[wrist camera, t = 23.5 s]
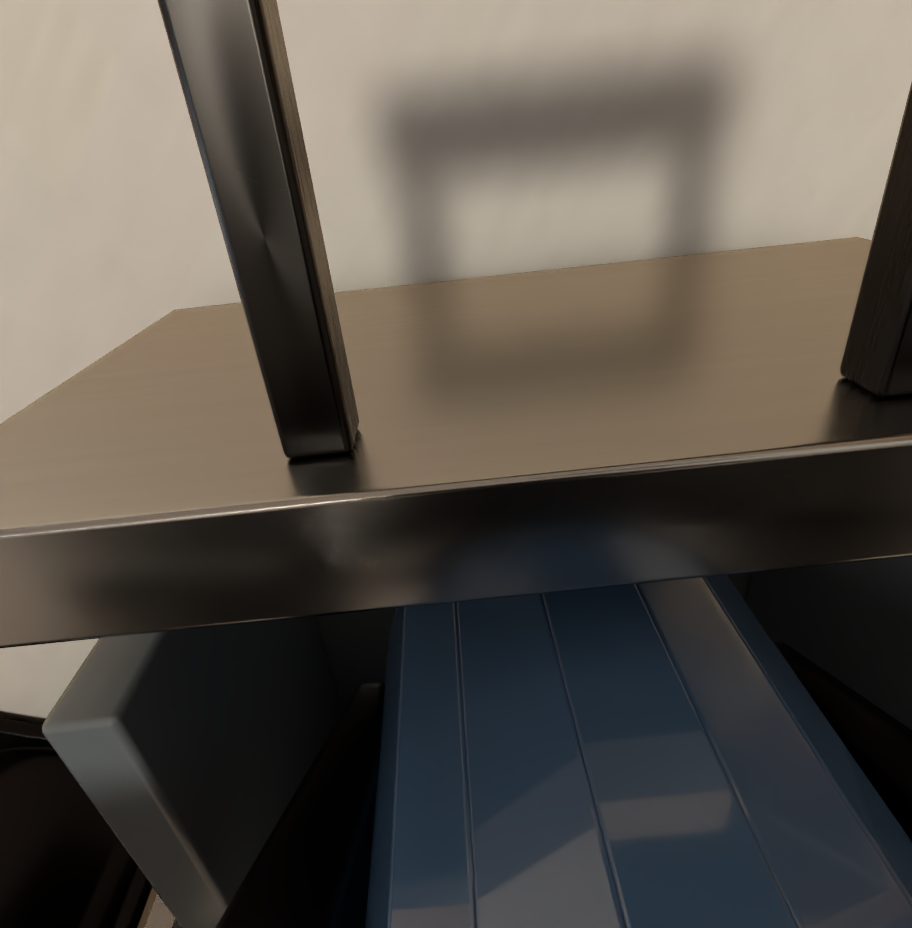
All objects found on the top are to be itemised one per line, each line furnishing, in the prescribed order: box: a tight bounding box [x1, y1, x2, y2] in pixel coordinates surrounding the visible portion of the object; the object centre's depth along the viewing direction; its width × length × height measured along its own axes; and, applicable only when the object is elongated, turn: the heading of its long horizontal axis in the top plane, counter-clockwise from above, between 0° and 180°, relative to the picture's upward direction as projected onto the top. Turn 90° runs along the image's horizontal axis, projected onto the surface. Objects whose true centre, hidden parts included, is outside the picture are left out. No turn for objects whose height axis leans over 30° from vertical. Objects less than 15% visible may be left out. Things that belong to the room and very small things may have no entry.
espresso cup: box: [365, 575, 912, 928], centre depth 7 cm, size 5×5×6 cm
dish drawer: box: [0, 0, 912, 928], centre depth 9 cm, size 17×13×7 cm
